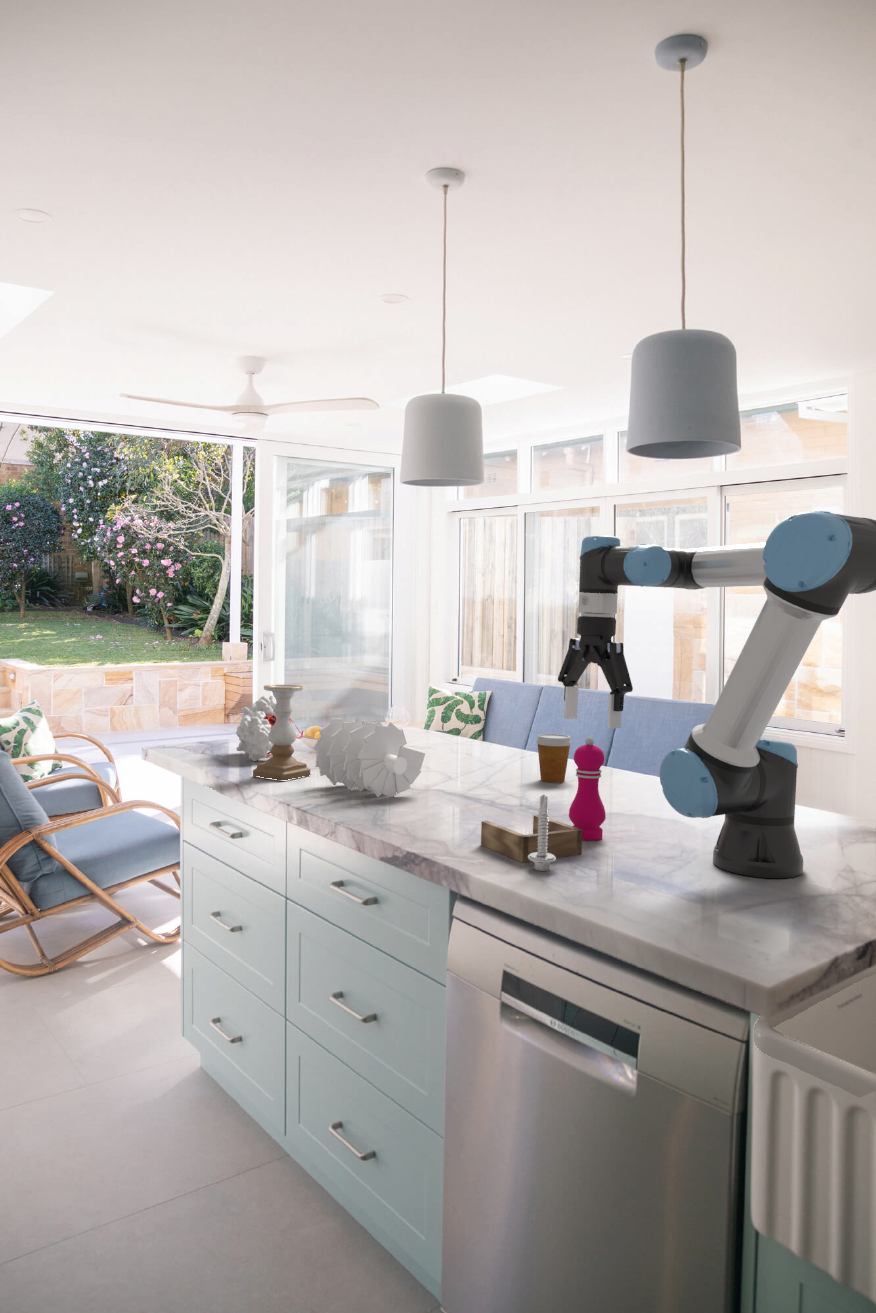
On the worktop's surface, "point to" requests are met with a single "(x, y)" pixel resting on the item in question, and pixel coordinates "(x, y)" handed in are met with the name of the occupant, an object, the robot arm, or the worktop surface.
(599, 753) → the pepper mill
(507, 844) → the u rest
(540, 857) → the screw
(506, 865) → the worktop surface
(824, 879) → the worktop surface
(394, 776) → the spiral staircase
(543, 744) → the disposable coffee cup
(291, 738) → the candle holder
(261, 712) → the protein dna model
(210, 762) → the worktop surface
